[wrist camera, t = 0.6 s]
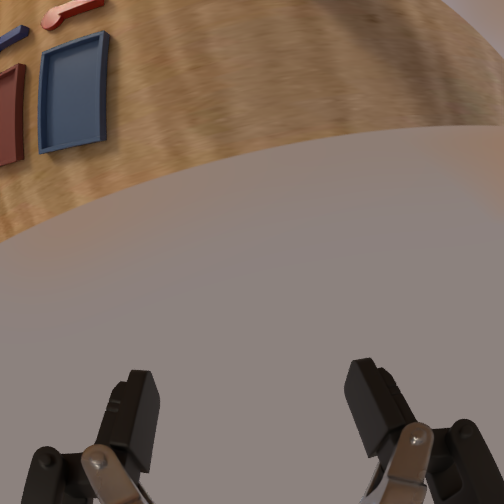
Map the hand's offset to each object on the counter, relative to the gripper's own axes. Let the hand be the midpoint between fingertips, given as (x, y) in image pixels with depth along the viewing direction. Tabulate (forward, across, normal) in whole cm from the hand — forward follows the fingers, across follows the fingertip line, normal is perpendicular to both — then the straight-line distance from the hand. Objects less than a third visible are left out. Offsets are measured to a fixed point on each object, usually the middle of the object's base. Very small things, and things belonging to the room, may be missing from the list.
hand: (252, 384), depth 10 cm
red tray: (+27, +36, -18) cm, 49 cm away
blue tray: (+28, +21, -18) cm, 39 cm away
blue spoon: (+28, +37, -32) cm, 56 cm away
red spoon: (+28, +23, -32) cm, 48 cm away
